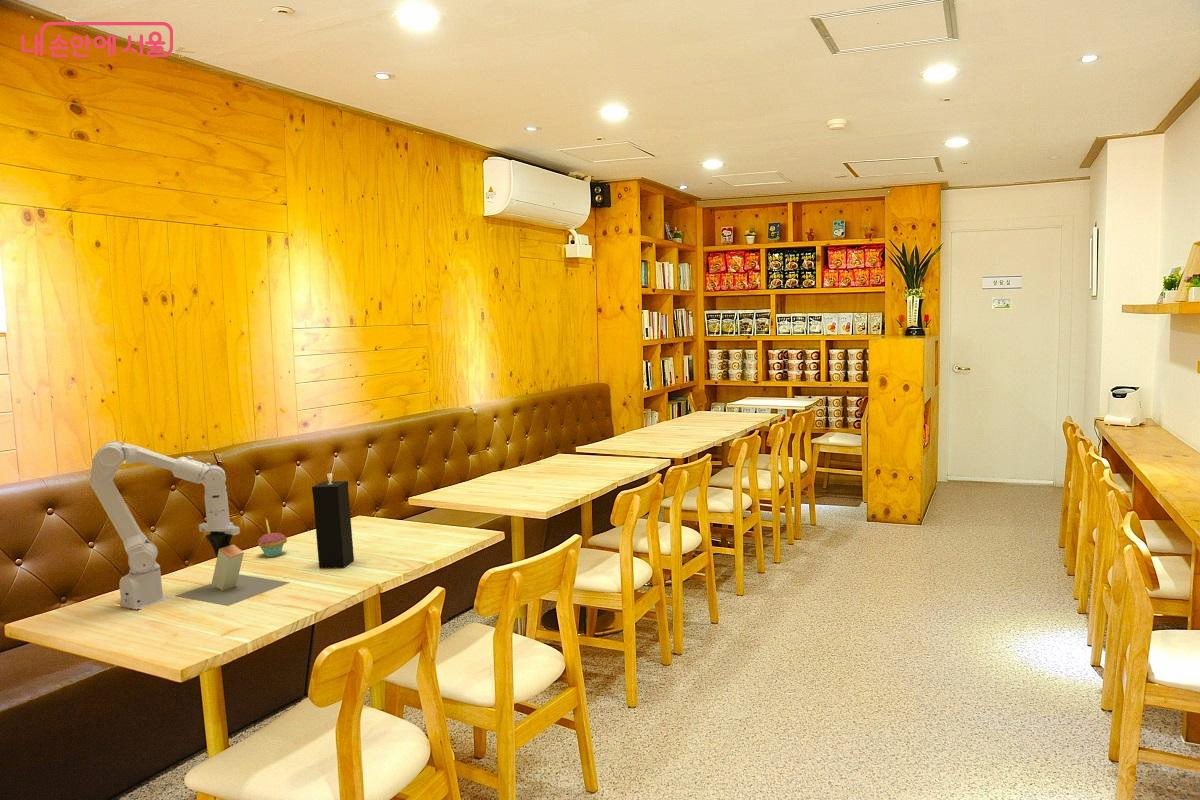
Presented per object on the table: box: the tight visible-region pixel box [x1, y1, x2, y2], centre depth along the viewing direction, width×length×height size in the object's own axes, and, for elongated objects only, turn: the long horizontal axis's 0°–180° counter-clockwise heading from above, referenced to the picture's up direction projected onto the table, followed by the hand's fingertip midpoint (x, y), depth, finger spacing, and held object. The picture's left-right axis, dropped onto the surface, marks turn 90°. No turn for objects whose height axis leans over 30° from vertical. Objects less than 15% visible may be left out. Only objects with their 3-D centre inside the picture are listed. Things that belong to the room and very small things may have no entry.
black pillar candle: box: [311, 472, 355, 569], centre depth 247 cm, size 8×8×28 cm
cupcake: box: [257, 518, 288, 558], centre depth 263 cm, size 9×8×12 cm
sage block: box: [211, 543, 245, 591], centre depth 228 cm, size 4×4×11 cm
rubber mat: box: [175, 574, 291, 607], centre depth 228 cm, size 20×22×1 cm
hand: (222, 558), depth 229 cm, fingers closed
